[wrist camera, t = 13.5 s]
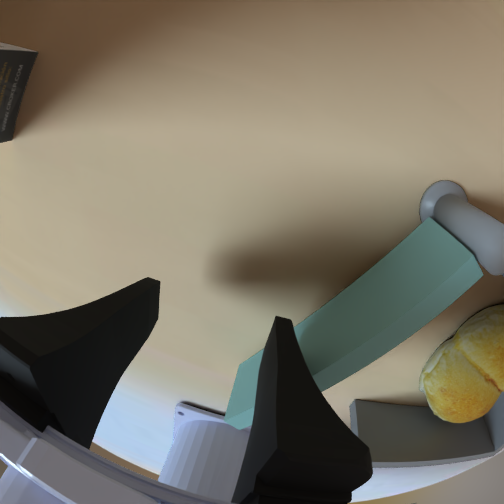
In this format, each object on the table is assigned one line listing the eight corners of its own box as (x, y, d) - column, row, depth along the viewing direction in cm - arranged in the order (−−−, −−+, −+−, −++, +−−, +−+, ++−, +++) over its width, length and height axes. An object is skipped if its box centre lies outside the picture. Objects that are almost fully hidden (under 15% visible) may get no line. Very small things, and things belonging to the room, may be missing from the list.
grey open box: (479, 413, 16) (493, 455, 12) (318, 401, 17) (316, 463, 13) (579, 264, 10) (615, 297, 5) (430, 171, 10) (491, 199, 6)
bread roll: (534, 334, 13) (557, 368, 9) (446, 407, 16) (458, 447, 13) (507, 268, 12) (544, 306, 8) (396, 367, 15) (410, 418, 12)
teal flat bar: (451, 186, 10) (509, 218, 6) (467, 213, 10) (523, 253, 6) (235, 361, 16) (216, 424, 12) (256, 376, 16) (242, 439, 12)
